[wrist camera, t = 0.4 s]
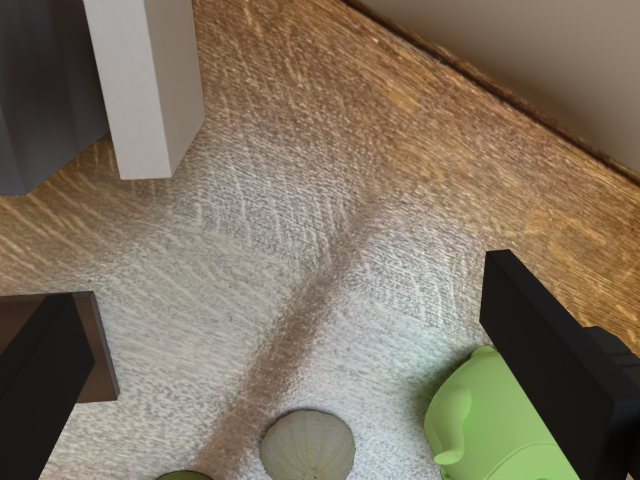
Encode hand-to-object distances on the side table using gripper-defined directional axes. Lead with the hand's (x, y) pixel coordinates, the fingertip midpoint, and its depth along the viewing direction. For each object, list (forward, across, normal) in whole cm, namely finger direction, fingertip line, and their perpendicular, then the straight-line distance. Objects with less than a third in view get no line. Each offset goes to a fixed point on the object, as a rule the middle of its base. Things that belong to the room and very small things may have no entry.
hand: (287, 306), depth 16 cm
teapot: (+22, +17, -26) cm, 39 cm away
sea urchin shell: (+22, 0, -31) cm, 38 cm away
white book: (+22, -6, +6) cm, 24 cm away
